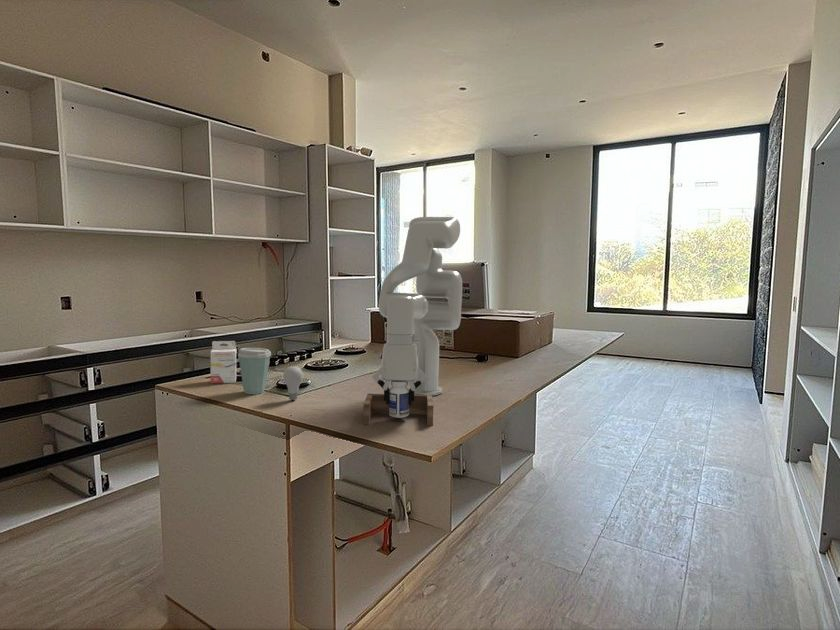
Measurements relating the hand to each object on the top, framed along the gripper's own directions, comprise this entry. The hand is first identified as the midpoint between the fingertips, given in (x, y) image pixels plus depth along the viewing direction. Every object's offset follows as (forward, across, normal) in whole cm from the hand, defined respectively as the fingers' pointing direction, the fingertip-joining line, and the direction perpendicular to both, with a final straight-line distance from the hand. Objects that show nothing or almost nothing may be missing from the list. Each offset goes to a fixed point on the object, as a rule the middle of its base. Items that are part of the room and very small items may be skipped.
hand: (399, 402), depth 134 cm
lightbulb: (+5, +34, -18) cm, 39 cm away
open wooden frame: (+5, 0, -1) cm, 5 cm away
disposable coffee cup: (+5, +49, -27) cm, 56 cm away
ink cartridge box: (+5, +65, -41) cm, 77 cm away
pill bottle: (+4, 0, 0) cm, 4 cm away
